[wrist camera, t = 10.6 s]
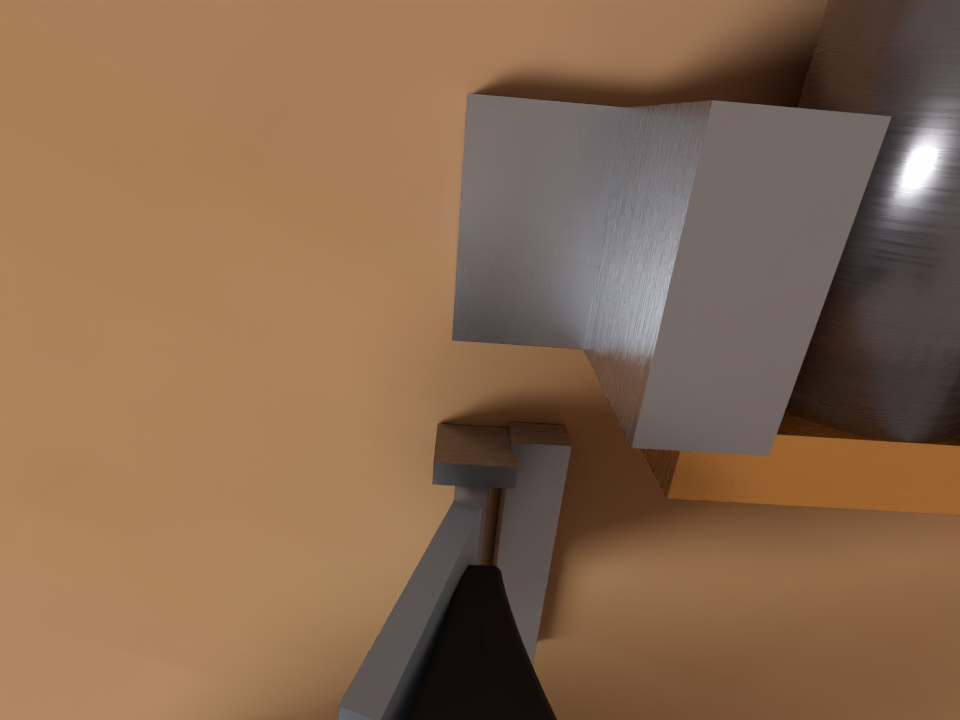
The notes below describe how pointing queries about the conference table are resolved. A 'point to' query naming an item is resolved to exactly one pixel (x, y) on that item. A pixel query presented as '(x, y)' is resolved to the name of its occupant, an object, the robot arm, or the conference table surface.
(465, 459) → the tab mount
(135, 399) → the conference table surface
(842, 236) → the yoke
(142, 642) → the conference table surface
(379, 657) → the plate
